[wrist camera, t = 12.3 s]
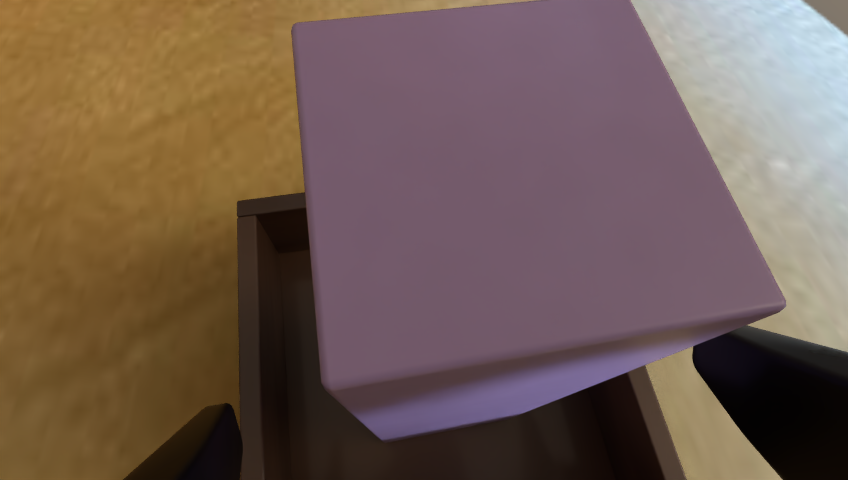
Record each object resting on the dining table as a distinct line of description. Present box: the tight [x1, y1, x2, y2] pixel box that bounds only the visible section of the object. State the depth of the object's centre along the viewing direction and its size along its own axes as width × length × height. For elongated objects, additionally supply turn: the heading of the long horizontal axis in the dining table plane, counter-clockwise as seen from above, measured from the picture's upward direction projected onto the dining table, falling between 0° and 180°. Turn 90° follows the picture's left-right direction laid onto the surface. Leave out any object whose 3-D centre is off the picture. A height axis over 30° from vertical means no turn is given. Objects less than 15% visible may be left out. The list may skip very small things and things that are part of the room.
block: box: [291, 0, 786, 443], centre depth 11 cm, size 4×4×13 cm
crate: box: [237, 192, 687, 480], centre depth 15 cm, size 11×11×4 cm
